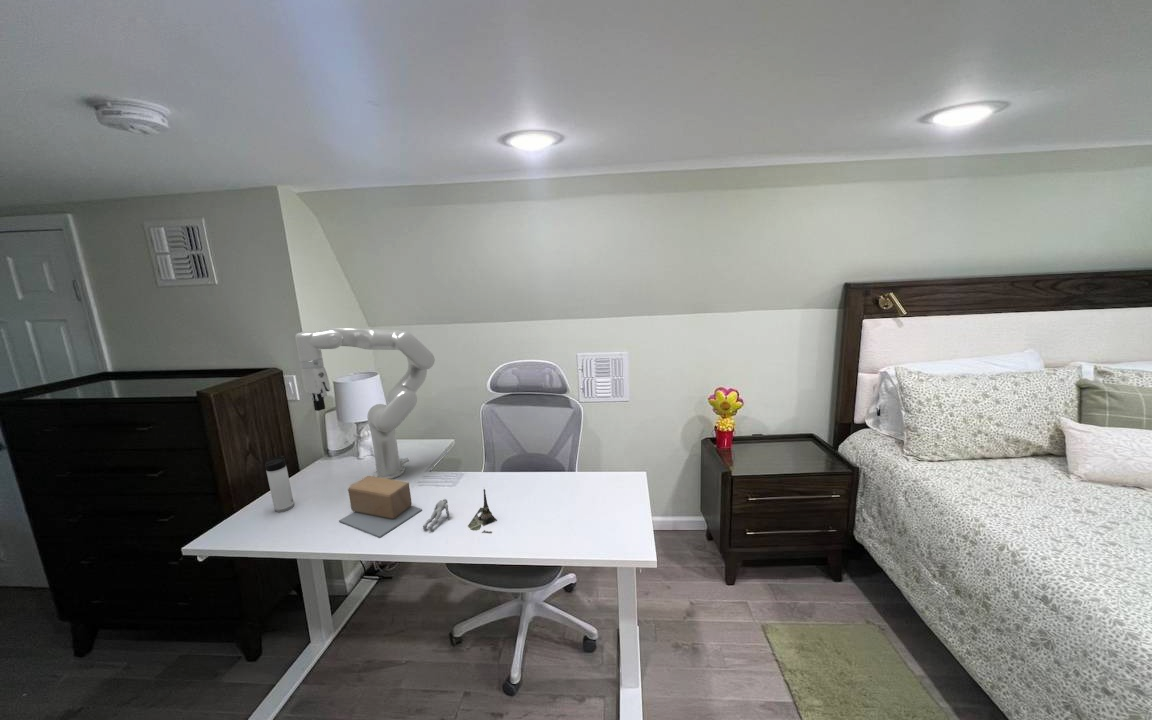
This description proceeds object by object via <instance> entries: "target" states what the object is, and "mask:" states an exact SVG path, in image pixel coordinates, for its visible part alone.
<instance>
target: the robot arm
mask: <svg viewBox="0 0 1152 720" xmlns="http://www.w3.org/2000/svg"><path fill="white" fill-rule="evenodd" d="M294 338H295V343H296V347H297V349H296V350H297V353H298V354H297V355H298V359H299V365H300V369H301V377H302V384H303V385H302V386H303V389H304V391H305V392H306V393H307V395H309V396H310V397H311V400H312V401H313V403H312V404H313V407H314V408H313V409H314V411H316V412H319V411H323V410H325V409H326V404H325V397H327V396H328V392H330V391H331V385H330V380H329V376H328V373H327V371H326V368H325V364H324V358H323V351H322V350H334V349H335V350H336V349H338V348H340V347H349V348H350V347H352V348H358V349H363V350H370V351H371V350H374V351H375V350H377V351H378V350H379V351H380V350H381V351H383V350H385V351H386V350H387V351H396V350H397V351H400V352H401V353H402V354H403V355H404V356H405V357H406V359H407V364H408V365H407V366H408V368H407V370H406V372H405V374H404V375H403V376H402V377H401V378H400V379H399V380H398V382H396V383H395V385H394V386H393V387H392V388H391V389H390V390H389V391H388V393H387V397H386V398H387V401H388V404H387V405H386V404H383V403H377V404H374V405H372V406H371V407H370V408H369V410H368V412H367V423H368V427H369V431H370V435H371V443H372V448H373V455H374V461H375V468H376V469H375V471H374V472H373V477H379V478H386V479H392V480H394V479H396V478H398V477H399V476H402V475H403V474H404V473H405V469H406V468H405V467H404V465H405V464H406V463H409V461H410V459H409V457H405V458H400V456H399V455H400V454H399V447H398V441H397V434H396V429H397V428H398V427H399V426H401V424H402V423H403V422H404V421H405V420H406V419H407V417H408V416H409V415H410V414H411V413H412V412H413V410H414V409H415V408H416V407H417V403H418V397H417V394H416V393H417V392H418V390H420V388H421V387H422V386H423V384H424V383H425V381H426V378H427V373H428V370H430V369H432V367H433V366H434V365H435V361H436V359H435V356H434V354H433V352H432V351H430V349H429V348H427V347H426V346H425V345H424V344H423V343H422V342H421V341H420V340H419V339H418V338H417V337H416V336H415V335H414V334H412V333H411V332H408V331H404V330H401V329H379V328H378V329H376V328H345V327H344V328H343V327H342V328H341V327H324V328H322V329H320V330H319V331H317V332H316V331H302V332H297V333H296V334H295V337H294Z"/></svg>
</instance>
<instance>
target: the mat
mask: <svg viewBox="0 0 1152 720" xmlns="http://www.w3.org/2000/svg"><path fill="white" fill-rule="evenodd" d="M422 511H423V509H422V508H420V507H416V506H413V505H411V506H410V507H409V508H408V509H406V510H405V511H404V512H402V513H401V514H400V515H399V516H397V517H396V518H394V519H390V518H385V517H380V516H375V515H370V514H365V513H360V512H355V511H352V512H351V513H349V514H348V515H345V516H344V517H343V518H341V519H339V520H338V523H341V524H343V525H346V526H348V527H351V528H353V529H356V530H358V531H361V532H363V533H367V534H369V535H371V536H374V537H375V538H378V539H381V538H383V537H384V536H385V535H387V534H389V533H390V532H392V531H393V530H394V529H396V528H397V527H400V526H401V525H403V524H404V523H405V522H407V521H409V520H410V519H412V518H413V517H415V516H416V515H418V514H419V513H421V512H422Z"/></svg>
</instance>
